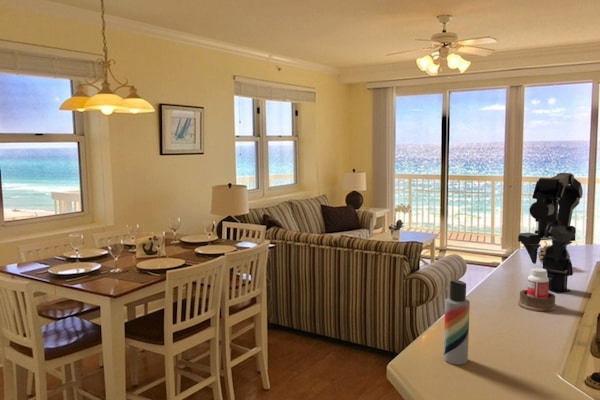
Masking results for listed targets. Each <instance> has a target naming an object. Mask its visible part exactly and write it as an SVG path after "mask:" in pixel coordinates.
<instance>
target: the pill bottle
mask: <svg viewBox="0 0 600 400" xmlns="http://www.w3.org/2000/svg"><path fill="white" fill-rule="evenodd" d="M526 290H527V295H528V296H531V297H536V298H548V292H549V291H550V290H549V279H548V277H547V270H546V269H543V267H542V268H539V267H532V268H530V275H528V277H527V287H526Z"/></svg>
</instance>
